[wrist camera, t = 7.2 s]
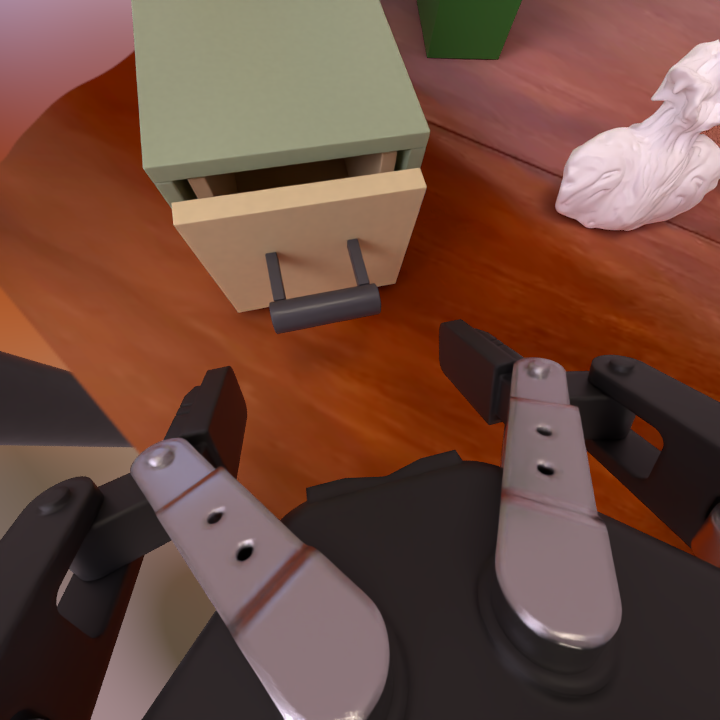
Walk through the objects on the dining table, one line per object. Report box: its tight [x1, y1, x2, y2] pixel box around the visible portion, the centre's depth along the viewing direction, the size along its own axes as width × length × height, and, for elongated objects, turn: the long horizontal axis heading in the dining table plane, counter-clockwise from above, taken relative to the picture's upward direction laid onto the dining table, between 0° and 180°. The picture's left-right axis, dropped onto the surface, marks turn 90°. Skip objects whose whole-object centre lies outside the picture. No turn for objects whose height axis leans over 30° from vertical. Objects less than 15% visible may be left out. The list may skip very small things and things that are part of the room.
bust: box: [555, 40, 720, 231], centre depth 23 cm, size 12×8×11 cm
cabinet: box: [131, 0, 430, 208], centre depth 21 cm, size 15×13×11 cm
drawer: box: [171, 151, 427, 334], centre depth 19 cm, size 18×11×9 cm, turn 14°
